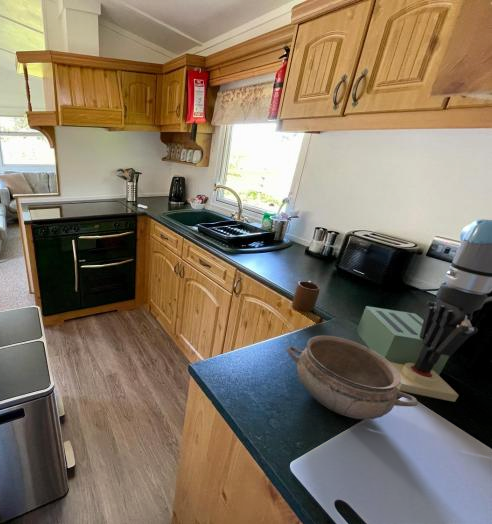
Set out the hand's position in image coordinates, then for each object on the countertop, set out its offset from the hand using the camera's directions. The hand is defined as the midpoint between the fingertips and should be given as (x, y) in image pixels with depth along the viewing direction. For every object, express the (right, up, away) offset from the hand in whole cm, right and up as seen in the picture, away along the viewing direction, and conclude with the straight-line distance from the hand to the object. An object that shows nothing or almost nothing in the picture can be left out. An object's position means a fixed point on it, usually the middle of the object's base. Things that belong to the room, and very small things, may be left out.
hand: (421, 369), depth 74 cm
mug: (-9, +11, +39) cm, 42 cm away
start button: (0, -2, +1) cm, 2 cm away
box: (0, -4, +2) cm, 5 cm away
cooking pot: (-27, -5, -6) cm, 28 cm away
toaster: (+5, 0, +14) cm, 15 cm away
